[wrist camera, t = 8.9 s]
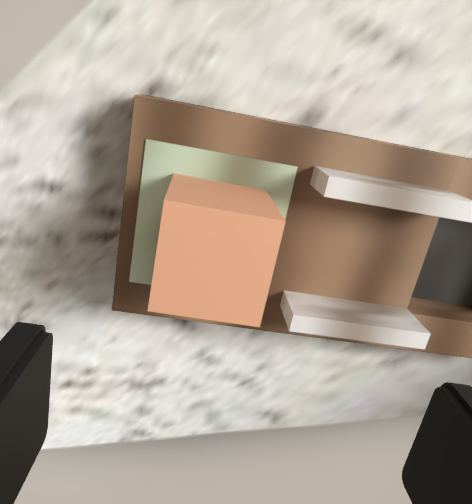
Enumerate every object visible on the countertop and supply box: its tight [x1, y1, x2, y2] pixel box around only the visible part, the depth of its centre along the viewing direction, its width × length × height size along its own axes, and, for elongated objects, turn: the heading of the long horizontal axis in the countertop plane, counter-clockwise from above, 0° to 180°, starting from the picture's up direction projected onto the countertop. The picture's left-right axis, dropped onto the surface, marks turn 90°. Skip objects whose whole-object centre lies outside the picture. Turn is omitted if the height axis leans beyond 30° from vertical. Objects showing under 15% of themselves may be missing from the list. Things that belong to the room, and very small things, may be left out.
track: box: [112, 94, 472, 358], centre depth 25 cm, size 26×12×6 cm, turn 79°
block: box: [148, 173, 286, 327], centre depth 21 cm, size 5×5×6 cm
